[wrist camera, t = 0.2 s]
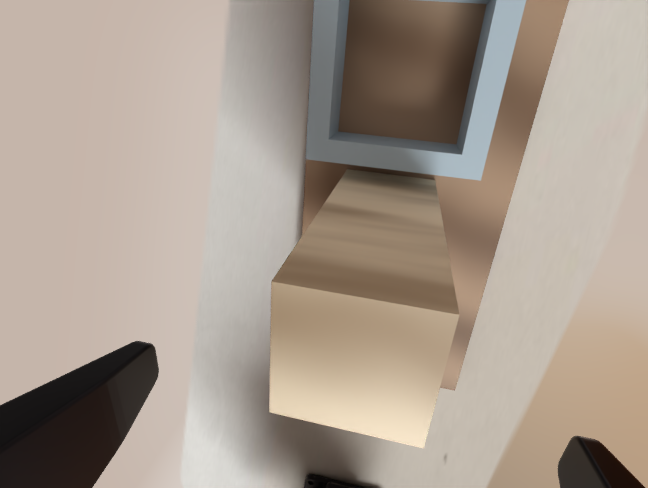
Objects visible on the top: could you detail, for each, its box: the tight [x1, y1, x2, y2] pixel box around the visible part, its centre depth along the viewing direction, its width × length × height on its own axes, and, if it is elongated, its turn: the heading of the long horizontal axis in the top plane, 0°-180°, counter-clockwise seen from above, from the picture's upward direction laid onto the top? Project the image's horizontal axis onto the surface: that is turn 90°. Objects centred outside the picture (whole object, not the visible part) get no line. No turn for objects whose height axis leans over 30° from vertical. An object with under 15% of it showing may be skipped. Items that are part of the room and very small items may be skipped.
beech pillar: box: [269, 169, 459, 448], centre depth 15 cm, size 4×4×12 cm
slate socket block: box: [306, 0, 526, 181], centre depth 17 cm, size 8×8×2 cm
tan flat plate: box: [302, 0, 569, 390], centre depth 21 cm, size 22×10×1 cm, turn 176°
